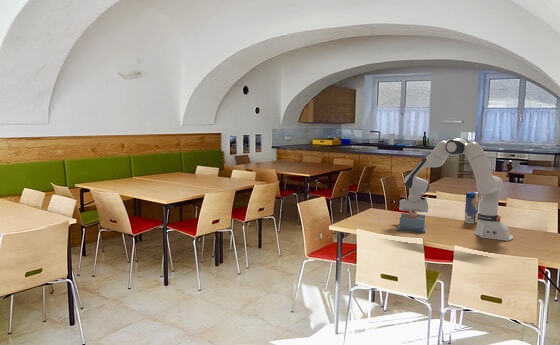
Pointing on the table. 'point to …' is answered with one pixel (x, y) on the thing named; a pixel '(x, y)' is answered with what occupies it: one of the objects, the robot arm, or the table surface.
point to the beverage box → (471, 207)
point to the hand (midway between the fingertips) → (413, 215)
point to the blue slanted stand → (411, 225)
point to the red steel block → (412, 215)
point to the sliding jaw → (417, 216)
